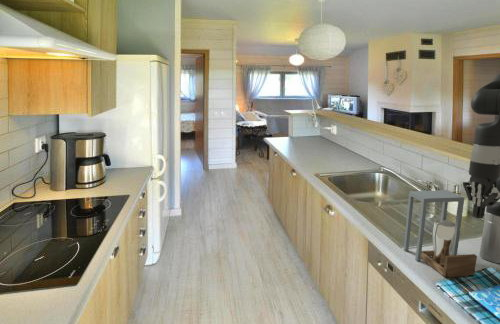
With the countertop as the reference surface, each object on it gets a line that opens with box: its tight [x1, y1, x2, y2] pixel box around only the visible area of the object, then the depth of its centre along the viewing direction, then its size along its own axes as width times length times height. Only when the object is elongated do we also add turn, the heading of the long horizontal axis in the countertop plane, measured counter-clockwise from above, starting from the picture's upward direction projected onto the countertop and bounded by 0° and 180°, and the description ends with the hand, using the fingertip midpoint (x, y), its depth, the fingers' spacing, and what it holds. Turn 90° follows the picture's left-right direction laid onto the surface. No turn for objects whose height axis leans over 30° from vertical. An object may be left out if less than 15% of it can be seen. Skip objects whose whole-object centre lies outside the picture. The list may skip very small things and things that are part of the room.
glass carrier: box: [421, 250, 478, 278], centre depth 116 cm, size 15×10×7 cm
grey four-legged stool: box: [403, 189, 466, 262], centre depth 123 cm, size 9×15×24 cm, turn 96°
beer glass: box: [430, 219, 456, 264], centre depth 117 cm, size 7×7×15 cm
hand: (477, 217), depth 99 cm, fingers closed
